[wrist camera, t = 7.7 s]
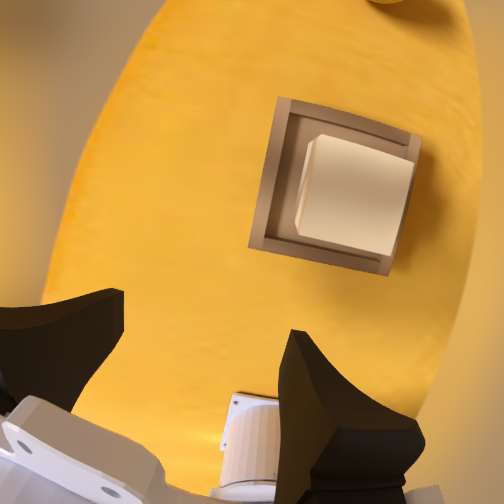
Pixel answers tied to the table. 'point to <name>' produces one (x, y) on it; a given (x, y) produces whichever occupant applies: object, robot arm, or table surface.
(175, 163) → the table surface
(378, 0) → the lemon
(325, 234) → the block
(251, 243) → the tray
